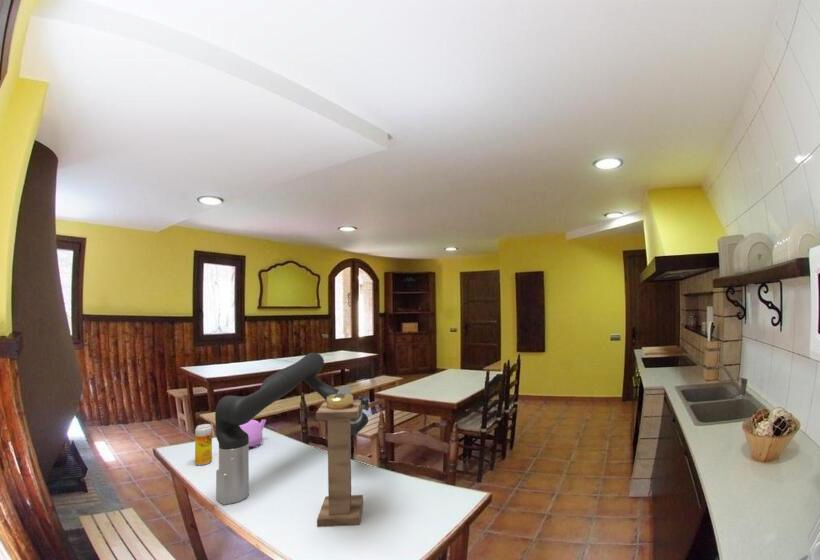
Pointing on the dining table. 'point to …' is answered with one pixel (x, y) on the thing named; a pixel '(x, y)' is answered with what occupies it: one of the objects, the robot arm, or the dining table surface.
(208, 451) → the beer can
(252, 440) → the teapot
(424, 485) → the dining table surface
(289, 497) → the dining table surface
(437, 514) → the dining table surface
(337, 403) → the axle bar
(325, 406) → the wooden stand
